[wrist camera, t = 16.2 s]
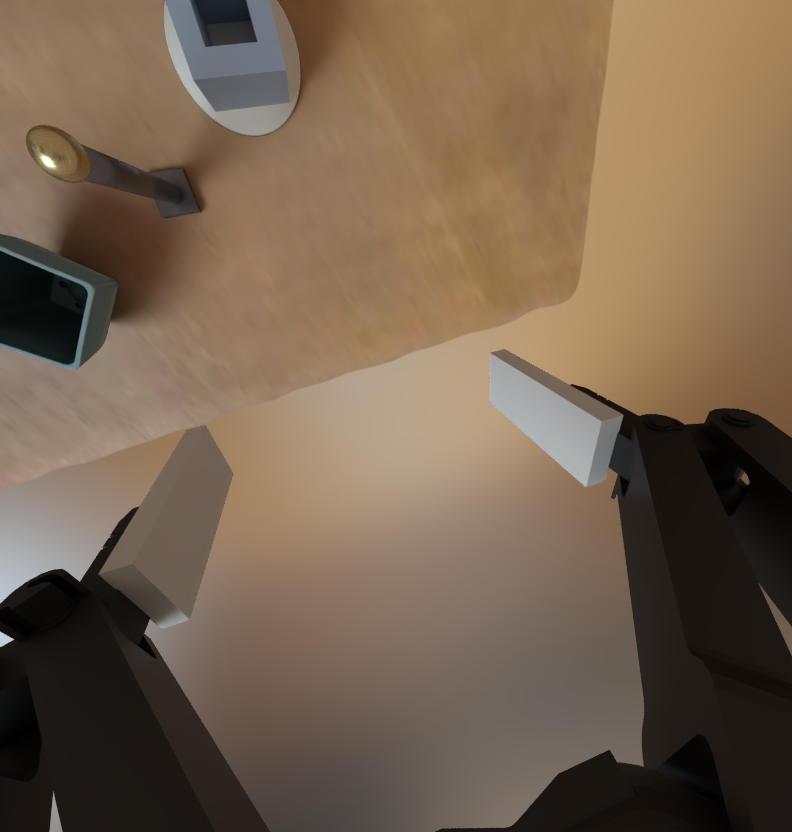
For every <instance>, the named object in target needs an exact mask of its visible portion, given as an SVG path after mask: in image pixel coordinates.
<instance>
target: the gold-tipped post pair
mask: <svg viewBox="0 0 792 832" xmlns="http://www.w3.org/2000/svg"><path fill="white" fill-rule="evenodd" d="M26 146H27V149H28V152H29V153H30V155H31V157H32V158H33V160H34V161H35V162H36V164H37V165H38V166H39V167H40V168H42V169H43V170H44V171H45V172H46V173H48V174H49V175H51V176H53V177H55V178H57V179H59V180H62V181H65V182H70V183H77V182H82V181H88V182H92V183H96V184H100V185H103V186H107V187H111V188H115V189H119V190H122V191H126V192H130V193H134V194H137V195H141V196H145V197H149V198H153V199H154V200H155V202H156V204H157V206H158V208H159V210H160V212H161V214H162V217H163V218H168V217H174V216H180V215H187V214H193V213H199V212H201V209H200V207H199V205H198V202H197V200H196V197H195V195H194V192H193V190H192V187H191V185H190V182H189V180H188V178H187V175H186V173H185V170H184V169H182V168H178V169H172V170H165V171H158V172H151V173H148V172H145V171H143V170H140V169H138V168H136V167H133V166H131V165H129V164H126V163H124V162H121V161H119V160H117V159H114V158H112V157H110V156H107V155H105V154H103V153H100V152H98V151H95V150H93V149H91V148H88V147H86V146H84V145H81V144H80V143H79V142H78V141H77V140H76V139H75V138H73V137H72V136H71V135H70V134H68V133H66V132H65V131H63V130H61V129H59V128H56V127H53V126H50V125H37V126H34V127H32V128H31V129H30V130H29V131H28V133H27V135H26Z"/></svg>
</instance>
